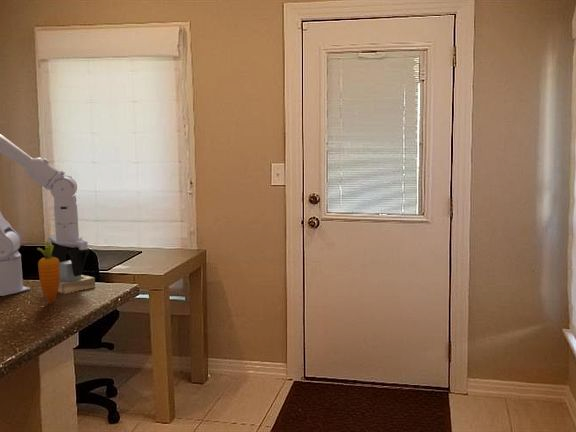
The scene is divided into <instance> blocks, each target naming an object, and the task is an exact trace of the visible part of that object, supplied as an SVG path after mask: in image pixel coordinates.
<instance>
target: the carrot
mask: <svg viewBox="0 0 576 432" xmlns="http://www.w3.org/2000/svg"><path fill="white" fill-rule="evenodd" d="M45 245H46V246H44V249H45V250H44V249H43V248H40V247H37V249H36V251H39V253H41V254H42V255H43V256H44V257H42V258H40V259H39V260H38V263H37V268H38V275H39V276H38V277H39V283H40V286H41V290H42V292H43V295H44V297H45V299H46V300H47V302H48V303H49V304H51V303H52V304H54V302H55V300H56V297H57V294H58V293H59V292H58V288H59V280H60V263H59V259H58V258H56V257H52V256H51V254H52V251H53V248H54V246H53V245H52V244H50V243H49V241H46V242H45Z"/></svg>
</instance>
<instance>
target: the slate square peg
mask: <svg viewBox="0 0 576 432" xmlns="http://www.w3.org/2000/svg"><path fill="white" fill-rule="evenodd" d="M59 263H60V280H59V281H62V282H66V283H67V282H72V281H76V280H80V279H81V275H80V276H74V274H73V269H72V263H71V259H69V260H66V261H64V262H59Z"/></svg>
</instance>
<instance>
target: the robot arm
mask: <svg viewBox="0 0 576 432" xmlns="http://www.w3.org/2000/svg"><path fill="white" fill-rule="evenodd" d="M0 153H1V154H2V155H4V156H5V157H7V158H8V159H10V160H12V161H13V162H15V163H16V164H18V165H19V166H21V167H22V168H24V170H25V175H26V177H28V178H29V179H31V180H33V181H34V182H35V183H36V184H38V185H39V186H41V187H43V188H44V189H45V190H47V191H49V190H50V194H51V196H52V197H53V203H54V205H53V213H54V230H55V235H54V236H48V242H49V243H50V245H53V246H54V248H53V251H52V254H51V257H56V258H58V259H59V262H64V261H67V255H68V257H69V260H71V263H72V269H73V274H74V276H80V275H84V274H83V272H84V269H85V263H86V260H87V257H88V256H89V254H90V251H91V249H90V248H89V247H88V246H89V244H88V241H86V240H83V237H82V236H80V234H79V232H80V230H79V218H78V216H79V215H78V204H77V195H75V194H76V193H77V191H78V184H77V182H76V180H75V179H74V178H73V177H72V176H71V175H65V174H66V172H65V171H64V170H61V171H60V170H59V169H57V168H56V167H55V166H53V165H52V164H50V160H49V159H47V158H44V159H43V158H42V157H34V158H33V157H31V155H29V154H28V153H26V152H25V151H24V150H23V149H21V148H20V147H18V146H17V145H16V144H14V143H13V142H12V141H11V140H9V139H8V138H7V137H5V136H4V135H3V134H1V133H0ZM21 246H22V236H21V235H20V234H19V233H18V232H17V231H16V230H15V229H13V227H12V225H11V224H10V222H8V221H7V220H6V219H5V217H4V215H3V214H2V211H0V297H4V296H9V295H13V294H18V293H22V292H26V291H30V290H31V287H29V286H24V281H23V269H22V254H21V253H20V252H19V249H20V248H21ZM69 248H72V249H69Z"/></svg>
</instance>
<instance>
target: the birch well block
mask: <svg viewBox="0 0 576 432" xmlns="http://www.w3.org/2000/svg"><path fill="white" fill-rule="evenodd" d="M93 288H96V278H95V277H94V276H89V275H84V274H82V275H81V279H80V280H76V281H72V282H67V283H66V282H62V281H59V288H58V292H57V293H59V292H60V293H59V294H63V293H64V294H63V295H68V294H72V293H75V292H74V291H76V292H80V291H79V290H81V291H83V289H85V290H88V289H93ZM71 292H72V293H71ZM67 293H68V294H67Z"/></svg>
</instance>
